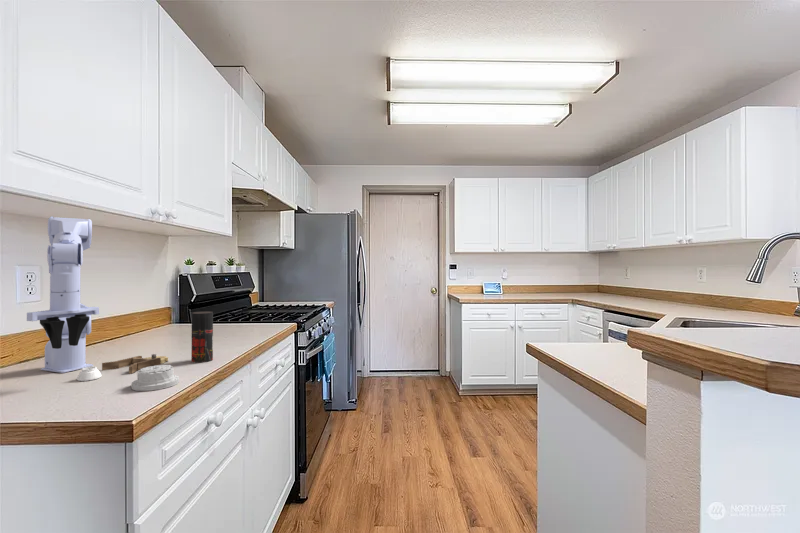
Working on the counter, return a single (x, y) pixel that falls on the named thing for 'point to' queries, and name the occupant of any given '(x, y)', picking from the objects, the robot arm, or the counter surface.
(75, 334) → the robot arm
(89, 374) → the white jar
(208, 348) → the deodorant
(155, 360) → the gear station
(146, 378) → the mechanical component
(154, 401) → the counter surface
